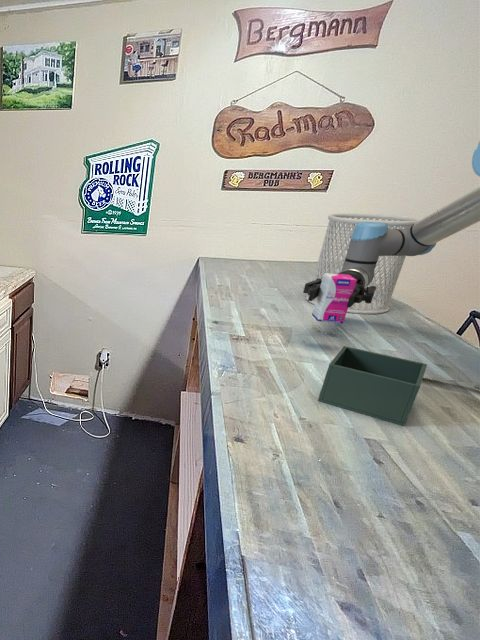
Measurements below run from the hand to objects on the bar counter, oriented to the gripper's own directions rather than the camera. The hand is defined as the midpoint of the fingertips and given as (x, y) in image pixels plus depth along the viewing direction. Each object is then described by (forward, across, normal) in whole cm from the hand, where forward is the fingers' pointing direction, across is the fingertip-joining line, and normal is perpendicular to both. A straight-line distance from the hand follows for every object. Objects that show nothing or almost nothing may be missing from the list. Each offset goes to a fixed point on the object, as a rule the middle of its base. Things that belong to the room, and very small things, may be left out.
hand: (330, 298), depth 113 cm
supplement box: (-5, 0, -7) cm, 8 cm away
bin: (+19, -14, -16) cm, 28 cm away
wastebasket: (-65, +4, -16) cm, 67 cm away
